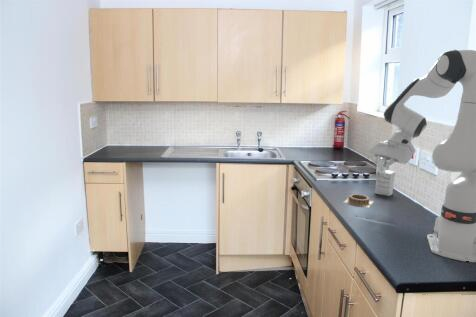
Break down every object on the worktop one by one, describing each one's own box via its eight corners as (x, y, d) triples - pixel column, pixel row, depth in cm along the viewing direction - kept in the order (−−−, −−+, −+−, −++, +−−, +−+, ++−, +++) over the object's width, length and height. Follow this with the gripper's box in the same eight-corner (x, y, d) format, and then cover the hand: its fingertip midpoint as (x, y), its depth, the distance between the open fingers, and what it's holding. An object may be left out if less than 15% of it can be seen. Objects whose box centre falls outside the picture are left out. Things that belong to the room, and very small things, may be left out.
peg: (384, 176, 174) (386, 159, 172) (375, 174, 176) (377, 157, 174) (385, 174, 177) (387, 157, 176) (376, 173, 179) (378, 156, 178)
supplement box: (378, 191, 207) (381, 168, 205) (392, 194, 203) (395, 171, 200) (374, 194, 202) (376, 171, 199) (388, 197, 197) (391, 173, 194)
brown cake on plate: (368, 209, 177) (369, 202, 176) (342, 204, 183) (343, 197, 182) (373, 203, 187) (374, 196, 186) (349, 198, 193) (350, 191, 192)
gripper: (377, 136, 185) (360, 156, 183) (413, 142, 168) (395, 165, 165) (382, 144, 188) (366, 165, 186) (418, 151, 171) (401, 174, 168)
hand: (380, 165), depth 175 cm, fingers closed on peg, 4 cm apart
